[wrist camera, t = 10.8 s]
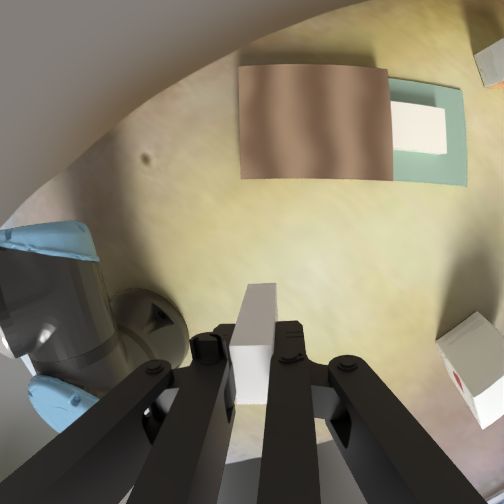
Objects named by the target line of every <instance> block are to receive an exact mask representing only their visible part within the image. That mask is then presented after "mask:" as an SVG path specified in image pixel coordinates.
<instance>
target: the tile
mask: <svg viewBox="0 0 504 504" xmlns="http://www.w3.org/2000/svg"><path fill="white" fill-rule="evenodd" d="M390 102H391V116H392V135H393V150H401V151H411V152H421V153H430V154H438V155H440V154H447V140H446V121H445V109H443V108H437V107H431V106H425V105H418V104H411V103H403V102H395V101H390Z"/></svg>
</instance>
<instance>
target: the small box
mask: <svg viewBox="0 0 504 504" xmlns="http://www.w3.org/2000/svg"><path fill="white" fill-rule="evenodd" d="M474 58H475V61H476V63H477V66H478V69H479V72H480V75H481V78H482V81H483V84H484V87H485V88H504V38H502V39H500V40H499V41H497V42H495V43H493V44H492V45H490V46H488V47H487V48H485V49H483V50H482V51H480V52H478V53H477V54H475V55H474Z"/></svg>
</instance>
